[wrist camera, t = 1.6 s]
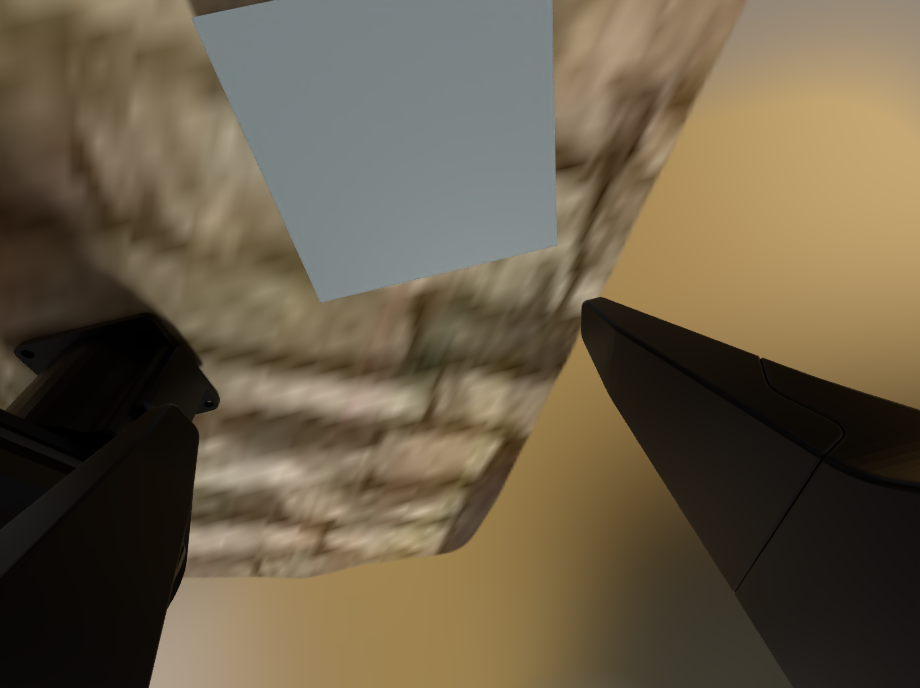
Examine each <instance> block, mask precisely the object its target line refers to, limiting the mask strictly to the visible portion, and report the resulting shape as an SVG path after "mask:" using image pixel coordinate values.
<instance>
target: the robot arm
mask: <svg viewBox="0 0 920 688" xmlns="http://www.w3.org/2000/svg"><path fill="white" fill-rule="evenodd" d="M143 322H147V323H149V324H150V325H151V326H147V325H145V324H144V323H143ZM581 335H582V339H583V341H584V344H585V345H586V348H587V350H588V352H589V354H590V356H591V358H592V360H593V363H594V365H595V367H596V369H597V371H598V373H599V375H600V378H601V380H602V381H603V384H604V386H605V388H606V390H607V392H608V394H609V396H610V397H611V399H612V401H613V403H614V404H615V406H616V407H617V409H618V410H619V412H620V414H621V415H622V417H623V418H624V420H625V422H626V423H627V425H628V426H629V428H630V429H631V431H632V433H633V434H634V436H635V437H636V439H637V440H638V442H639V444H640V445H641V447H642V448H643V450H644V452H645V453H646V455H647V456H648V458H649V460H650V461H651V463H652V464H653V466H654V468H655V469H656V471H657V472H658V474H659V475H660V477H661V478H662V480H663V482H664V483H665V485H666V486H667V488H668V490H669V491H670V493H671V494H672V496H673V498H674V499H675V501H676V502H677V504H678V506H679V507H680V509H681V510H682V512H683V514H684V515H685V517H686V518H687V520H688V521H689V523H690V525H691V526H692V528H693V529H694V531H695V533H696V534H697V536H698V537H699V539H700V540H701V542H702V544H703V545H704V547H705V548H706V550H707V551H708V553H709V555H710V556H711V558H712V560H713V561H714V563H715V564H716V566H717V567H718V569H719V570H720V572H721V574H722V575H723V577H724V579H725V580H726V582H727V583H728V585H729V586H730V588H731V590H732V591H733V592H735V594H734V595H735V596H736V598H737V600H738V601H739V603H740V604H741V606H742V608H743V609H744V611H745V612H746V614H747V615H748V617H749V619H750V620H751V622H752V623H753V625H754V627H755V628H756V630H757V631H758V633H759V635H760V636H761V638H762V639H763V641H764V642H765V644H766V646H767V647H768V649H769V650H770V652H771V654H772V655H773V657H774V658H775V660H776V661H777V663H778V665H779V666H780V668H781V669H782V671H783V673H784V674H785V675H786V677H787V679H788V681H789V682H790V684H791V685H792V687H793V688H920V410H918V409H915V408H912V407H909V406H906V405H902V404H899V403H896V402H893V401H890V400H886V399H883V398H880V397H877V396H873V395H870V394H867V393H864V392H861V391H857V390H854V389H851V388H848V387H845V386H842V385H839V384H836V383H833V382H829V381H827V380H823V379H820V378H817V377H815V376H812V375H809V374H806V373H803V372H801V371H798V370H795V369H792V368H789V367H787V366H784V365H781V364H778V363H776V362H773V361H771V360H768V359H765V358H761V359H760V358H759V356H757V355H754V354H752V353H749V352H746V351H744V350H741V349H738V348H736V347H733V346H731V345H728V344H725V343H723V342H720V341H717V340H715V339H712V338H709V337H706V336H704V335H701V334H699V333H696V332H693V331H691V330H688V329H685V328H683V327H680V326H678V325H675V324H672V323H670V322H667V321H664V320H662V319H659V318H656V317H654V316H651V315H648V314H645V313H643V312H640V311H638V310H635V309H632V308H630V307H627V306H624V305H622V304H619V303H616V302H614V301H611V300H608V299H606V298H603V297H598V298H594V299H590V300H586V301H584V302H583V304H582V312H581ZM28 350H29V351H31V352H29V351H28ZM32 352H33V353H32ZM14 354H15V355H16V356H17V357H18V358H19V359H20V360H21V361H22V362H23V363H25V364H26V365H27V366H28V367H29V368H30V369H31V370H32V371H34V372H35V373H36V374H37V375H38V376H37V377H36V379H35V380H34V381H33V382H32V383H31V384H30V385H29V386H28V387H27V388H26V389H25V390H24V391H23V392H22V393H21V394H20V395H19V396H18V397H17V398H16V399H15V401H14V402H13V403H12V404H11V405H10V406H9V407H8V408H7V409H6V410H5V411H4V410H2V409H0V688H149V685H150V680H151V676H152V672H153V667H154V663H155V659H156V655H157V650H158V646H159V641H160V637H161V633H162V628H163V624H164V620H165V615H166V611H167V609H168V607H169V605H170V603H171V602H172V600H173V598H174V596H175V594H176V592H177V590H178V588H179V586H180V583H181V580H182V578H183V575H184V572H185V568H186V562H187V553H188V542H189V532H190V521H191V511H192V500H193V488H194V480H195V471H196V462H197V454H198V445H199V432H198V429H197V427H196V426H195V425H194V424H193V423H192V420H193V418H194V416H195V414H199V413H204V412H208V411H212V410H215V409H216V408H217V407H218V405H219V403H220V398H219V396H218V395H217V394H216V392H215V391H214V390H213V388H212V387H211V386H210V385H209V382H208V380H207V379H206V378H205V377H204V375H203V374H202V373H201V371H200V370H199V369H198V367H197V366H196V365H195V364H194V362H193V361H192V360H191V358H190V357H189V356H188V355H187V353H186V352H185V351H184V350H183V349H182V348H181V347H180V346H179V345H178V343H177V342H176V341H175V339H174V338H173V337H172V336H171V334H170V333H169V332H168V330H167V329H166V328H165V327H164V325H163V324H162V323H161V321H160V320H159V319H158V318H157V317H156V316H154V315H152V314H149V313H140V314H136V315H132V316H128V317H124V318H119V319H115V320H111V321H107V322H103V323H98V324H94V325H90V326H86V327H81V328H77V329H73V330H69V331H65V332H60V333H56V334H52V335H48V336H44V337H39V338H35V339H31V340H27V341H24V342H21V343H20V344H19V345H18V346H17V347H16V348H15V349H14ZM207 401H211V402H207Z"/></svg>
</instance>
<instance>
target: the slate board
mask: <svg viewBox="0 0 920 688" xmlns="http://www.w3.org/2000/svg"><path fill="white" fill-rule="evenodd" d="M191 19H192V21H193V23H194V25H195V27H196V30H197V32H198V34H199V36H200V38H201V41H202V43H203V45H204V47H205V49H206V52H207V54H208V56H209V58H210V60H211V63H212V65H213V67H214V69H215V71H216V74H217V76H218V78H219V80H220V82H221V85H222V87H223V89H224V91H225V93H226V96H227V98H228V100H229V102H230V104H231V107H232V109H233V111H234V113H235V115H236V118H237V120H238V122H239V124H240V126H241V129H242V131H243V133H244V135H245V137H246V140H247V142H248V144H249V146H250V148H251V151H252V153H253V155H254V157H255V159H256V162H257V164H258V166H259V168H260V170H261V173H262V175H263V177H264V179H265V181H266V184H267V186H268V188H269V190H270V192H271V195H272V197H273V199H274V201H275V203H276V206H277V208H278V210H279V212H280V214H281V217H282V219H283V221H284V223H285V225H286V228H287V230H288V232H289V234H290V236H291V239H292V241H293V243H294V245H295V247H296V250H297V252H298V254H299V256H300V258H301V261H302V263H303V265H304V267H305V269H306V272H307V274H308V276H309V278H310V280H311V283H312V285H313V287H314V289H315V291H316V293H317V296H318V298H319V300H320V302H325V301H329V300H333V299H337V298H342V297H346V296H350V295H354V294H358V293H362V292H366V291H371V290H375V289H379V288H383V287H387V286H391V285H396V284H400V283H404V282H408V281H412V280H416V279H420V278H425V277H429V276H433V275H437V274H441V273H445V272H449V271H454V270H458V269H462V268H466V267H470V266H474V265H478V264H483V263H487V262H491V261H495V260H499V259H503V258H508V257H512V256H516V255H520V254H524V253H528V252H532V251H537V250H541V249H545V248H549V247H553V246H557V228H556V174H555V120H554V66H553V12H552V0H273V1H268V2H263V3H259V4H254V5H249V6H244V7H240V8H235V9H230V10H225V11H221V12H216V13H211V14H206V15H201V16H197V17H192V18H191Z"/></svg>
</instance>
